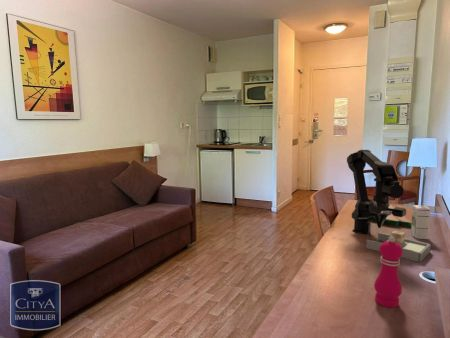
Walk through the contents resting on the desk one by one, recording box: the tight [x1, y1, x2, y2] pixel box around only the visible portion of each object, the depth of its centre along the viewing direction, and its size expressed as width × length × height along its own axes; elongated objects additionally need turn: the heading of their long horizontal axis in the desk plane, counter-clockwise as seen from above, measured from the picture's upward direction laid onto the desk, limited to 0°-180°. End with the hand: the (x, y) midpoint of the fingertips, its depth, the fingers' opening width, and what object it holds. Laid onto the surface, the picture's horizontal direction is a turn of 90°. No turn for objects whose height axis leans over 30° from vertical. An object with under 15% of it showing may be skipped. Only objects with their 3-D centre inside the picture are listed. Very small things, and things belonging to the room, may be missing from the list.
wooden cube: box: [390, 230, 405, 244], centre depth 138 cm, size 4×4×4 cm
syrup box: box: [410, 204, 431, 240], centre depth 151 cm, size 6×6×14 cm
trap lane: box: [365, 232, 431, 263], centre depth 136 cm, size 20×14×4 cm
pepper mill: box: [373, 236, 403, 308], centre depth 94 cm, size 7×7×20 cm
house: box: [374, 204, 413, 228], centre depth 182 cm, size 23×33×8 cm
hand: (379, 227), depth 143 cm, fingers closed
